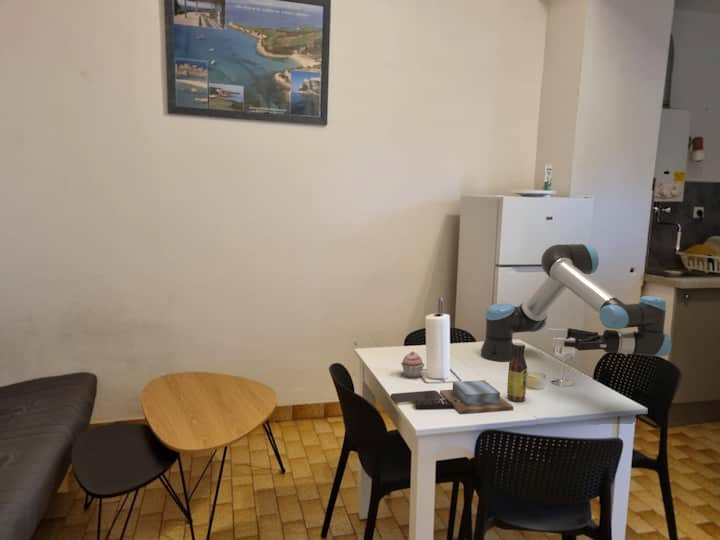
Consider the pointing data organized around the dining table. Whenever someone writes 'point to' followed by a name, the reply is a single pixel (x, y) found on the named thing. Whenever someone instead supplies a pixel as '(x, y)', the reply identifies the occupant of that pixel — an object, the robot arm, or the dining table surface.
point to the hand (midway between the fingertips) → (550, 337)
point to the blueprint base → (475, 408)
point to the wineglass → (563, 361)
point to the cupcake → (412, 365)
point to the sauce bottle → (517, 374)
